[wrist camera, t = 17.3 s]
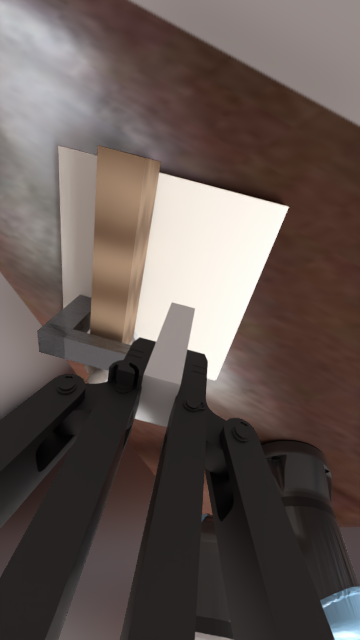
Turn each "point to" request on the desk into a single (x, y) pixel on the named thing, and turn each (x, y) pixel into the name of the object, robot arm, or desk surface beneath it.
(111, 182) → the link
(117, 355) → the bracket
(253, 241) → the board
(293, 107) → the desk surface
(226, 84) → the desk surface
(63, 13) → the desk surface
